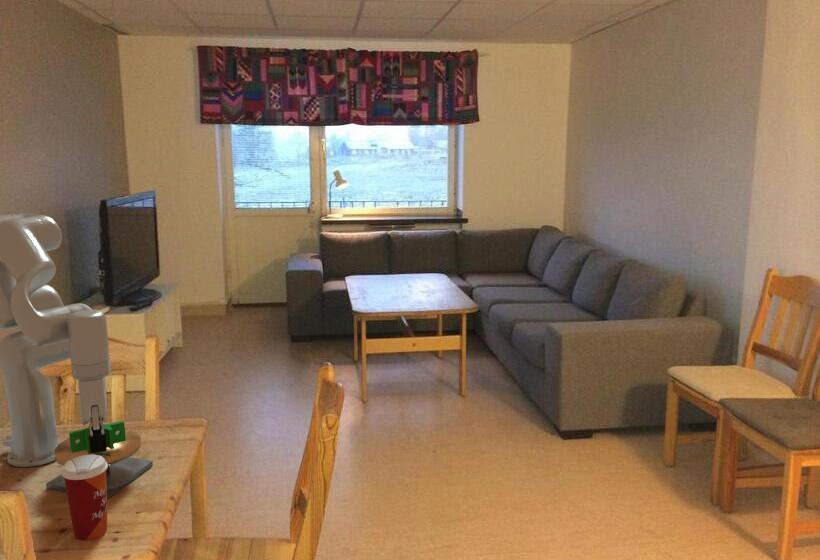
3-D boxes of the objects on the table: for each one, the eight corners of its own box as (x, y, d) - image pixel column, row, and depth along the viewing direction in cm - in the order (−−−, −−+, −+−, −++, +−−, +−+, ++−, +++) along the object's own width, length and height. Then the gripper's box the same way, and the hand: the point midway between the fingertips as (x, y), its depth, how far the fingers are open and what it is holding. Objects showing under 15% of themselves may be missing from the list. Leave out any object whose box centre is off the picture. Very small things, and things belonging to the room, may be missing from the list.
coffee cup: (112, 539, 137) (105, 469, 134) (65, 547, 134) (58, 475, 131) (114, 517, 145) (108, 450, 141) (70, 524, 142) (63, 456, 139)
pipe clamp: (73, 458, 149) (71, 438, 148) (70, 451, 152) (68, 432, 151) (128, 445, 155) (126, 425, 154) (125, 439, 158) (123, 420, 157)
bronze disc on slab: (39, 490, 155) (34, 450, 153) (94, 454, 172) (91, 418, 170) (108, 502, 150) (105, 461, 148) (158, 464, 167) (156, 427, 165)
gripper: (72, 358, 156) (79, 434, 160) (71, 383, 141) (79, 466, 145) (108, 354, 159) (115, 429, 163) (111, 378, 144) (119, 460, 148)
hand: (98, 446), depth 154 cm, fingers closed on pipe clamp, 4 cm apart
